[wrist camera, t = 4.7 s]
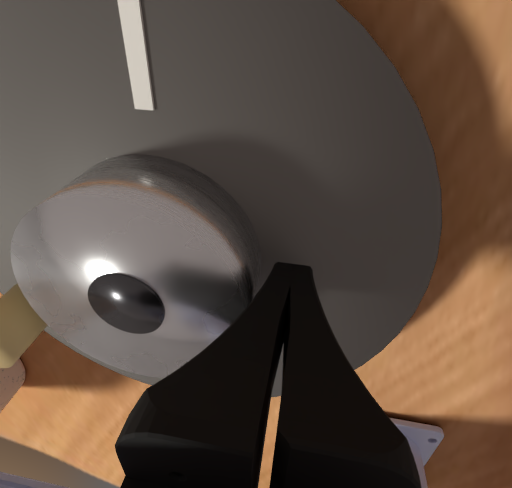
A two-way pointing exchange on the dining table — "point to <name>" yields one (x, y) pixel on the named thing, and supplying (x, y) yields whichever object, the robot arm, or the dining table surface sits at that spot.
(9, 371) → the teacup with lid
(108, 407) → the dining table surface
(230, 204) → the cover
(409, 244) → the turntable
